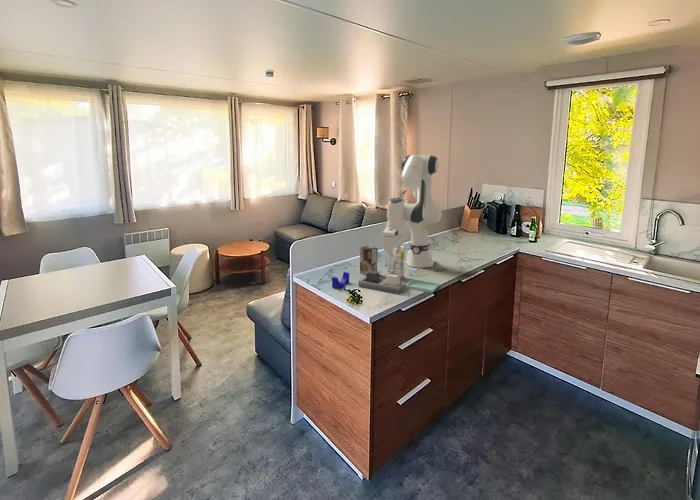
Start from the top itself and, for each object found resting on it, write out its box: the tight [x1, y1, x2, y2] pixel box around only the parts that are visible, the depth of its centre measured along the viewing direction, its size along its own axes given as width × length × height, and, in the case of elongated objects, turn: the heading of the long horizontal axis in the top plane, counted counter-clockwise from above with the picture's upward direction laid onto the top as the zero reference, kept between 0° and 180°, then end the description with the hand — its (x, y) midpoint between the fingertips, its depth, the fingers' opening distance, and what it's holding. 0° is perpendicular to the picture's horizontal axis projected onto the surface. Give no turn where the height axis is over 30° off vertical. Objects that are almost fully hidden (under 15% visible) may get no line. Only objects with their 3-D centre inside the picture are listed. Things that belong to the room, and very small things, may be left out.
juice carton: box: [387, 245, 406, 279], centre depth 226 cm, size 8×9×19 cm
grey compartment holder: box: [358, 271, 407, 295], centre depth 211 cm, size 10×24×8 cm, turn 61°
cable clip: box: [331, 271, 350, 290], centre depth 214 cm, size 12×4×6 cm, turn 145°
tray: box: [405, 278, 440, 294], centre depth 212 cm, size 12×16×2 cm
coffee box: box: [359, 245, 378, 275], centre depth 234 cm, size 9×6×16 cm
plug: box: [385, 274, 401, 287], centre depth 207 cm, size 4×6×6 cm
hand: (394, 255), depth 204 cm, fingers open, 8 cm apart
